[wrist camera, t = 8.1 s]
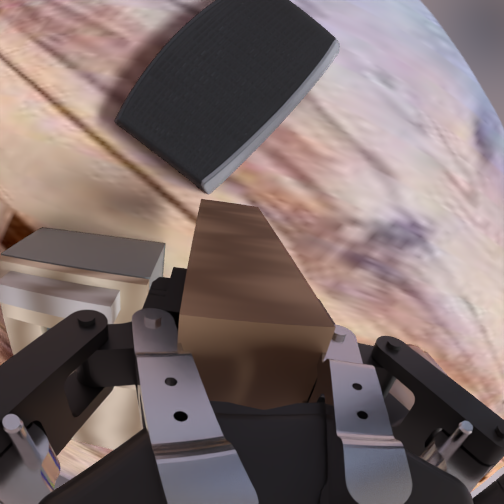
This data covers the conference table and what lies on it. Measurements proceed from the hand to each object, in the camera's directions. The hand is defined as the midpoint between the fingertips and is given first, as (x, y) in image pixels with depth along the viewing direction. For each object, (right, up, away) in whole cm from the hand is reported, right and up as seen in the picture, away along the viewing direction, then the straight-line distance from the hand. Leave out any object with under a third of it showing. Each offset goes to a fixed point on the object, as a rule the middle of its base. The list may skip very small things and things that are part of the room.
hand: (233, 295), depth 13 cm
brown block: (-1, +3, +9) cm, 10 cm away
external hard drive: (-1, +18, +12) cm, 22 cm away
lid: (-15, -10, +11) cm, 21 cm away
